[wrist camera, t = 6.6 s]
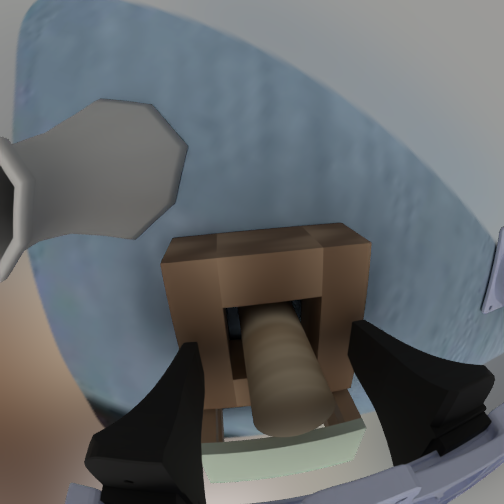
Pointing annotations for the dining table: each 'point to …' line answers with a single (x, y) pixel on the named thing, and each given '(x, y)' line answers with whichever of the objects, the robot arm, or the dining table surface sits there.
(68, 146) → the flask
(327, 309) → the socket
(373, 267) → the dining table surface
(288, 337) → the peg
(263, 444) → the bench
